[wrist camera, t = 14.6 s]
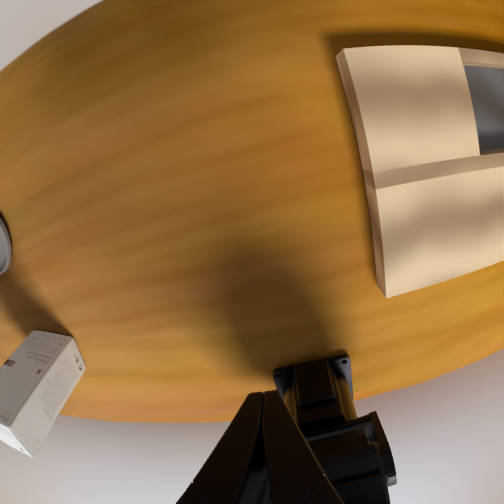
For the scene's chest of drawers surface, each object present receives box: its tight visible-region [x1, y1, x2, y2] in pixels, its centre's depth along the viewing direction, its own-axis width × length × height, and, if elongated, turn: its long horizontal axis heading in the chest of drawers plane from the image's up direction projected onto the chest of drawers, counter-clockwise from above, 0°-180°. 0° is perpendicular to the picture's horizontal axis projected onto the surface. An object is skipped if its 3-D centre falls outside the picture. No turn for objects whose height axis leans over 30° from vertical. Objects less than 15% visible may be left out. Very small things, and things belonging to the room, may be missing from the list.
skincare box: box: [0, 330, 86, 457], centre depth 19 cm, size 6×4×12 cm
